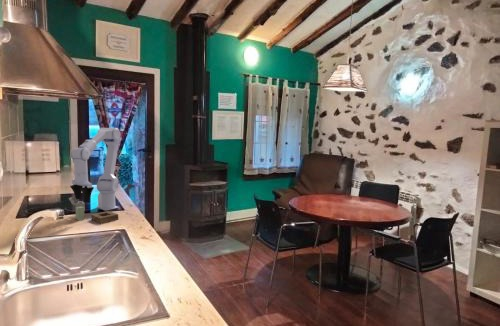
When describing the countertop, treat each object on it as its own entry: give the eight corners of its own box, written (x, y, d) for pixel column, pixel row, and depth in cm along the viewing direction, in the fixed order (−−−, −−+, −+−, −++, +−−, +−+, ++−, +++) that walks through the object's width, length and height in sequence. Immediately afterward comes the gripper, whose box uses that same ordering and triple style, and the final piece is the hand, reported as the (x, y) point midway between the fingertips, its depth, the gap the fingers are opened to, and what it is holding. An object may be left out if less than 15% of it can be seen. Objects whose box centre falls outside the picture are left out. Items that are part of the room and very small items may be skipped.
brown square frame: (91, 219, 163) (91, 214, 162) (108, 215, 170) (108, 210, 170) (100, 223, 157) (100, 218, 157) (118, 219, 164) (118, 214, 164)
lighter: (84, 210, 179) (83, 195, 178) (85, 210, 178) (84, 196, 176) (69, 212, 174) (68, 197, 173) (70, 213, 173) (69, 198, 172)
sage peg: (76, 219, 163) (75, 207, 162) (81, 217, 166) (81, 206, 165) (78, 220, 162) (78, 208, 161) (84, 219, 164) (83, 207, 163)
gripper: (65, 172, 161) (66, 199, 163) (81, 175, 153) (82, 204, 155) (79, 170, 167) (80, 196, 169) (95, 173, 159) (96, 201, 161)
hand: (82, 200), depth 162 cm, fingers open, 7 cm apart
